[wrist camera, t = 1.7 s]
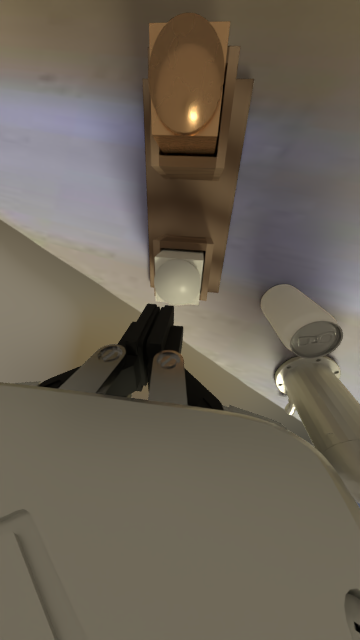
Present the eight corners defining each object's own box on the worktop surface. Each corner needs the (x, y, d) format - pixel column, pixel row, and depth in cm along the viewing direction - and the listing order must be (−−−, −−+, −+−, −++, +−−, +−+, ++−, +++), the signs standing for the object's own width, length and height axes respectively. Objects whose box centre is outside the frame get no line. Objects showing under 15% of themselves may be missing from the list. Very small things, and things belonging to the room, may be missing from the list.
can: (298, 312, 32) (343, 357, 22) (260, 319, 34) (286, 364, 24) (299, 279, 29) (352, 313, 19) (258, 288, 31) (286, 323, 21)
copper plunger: (212, 161, 19) (217, 133, 13) (167, 159, 20) (149, 131, 13) (220, 91, 17) (231, 11, 10) (167, 91, 17) (146, 13, 10)
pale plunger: (199, 285, 26) (198, 307, 20) (166, 282, 27) (154, 303, 20) (203, 249, 24) (203, 261, 17) (166, 246, 24) (153, 258, 18)
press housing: (217, 290, 32) (222, 311, 25) (152, 284, 33) (138, 303, 26) (251, 86, 20) (279, 13, 13) (145, 85, 20) (115, 16, 13)
